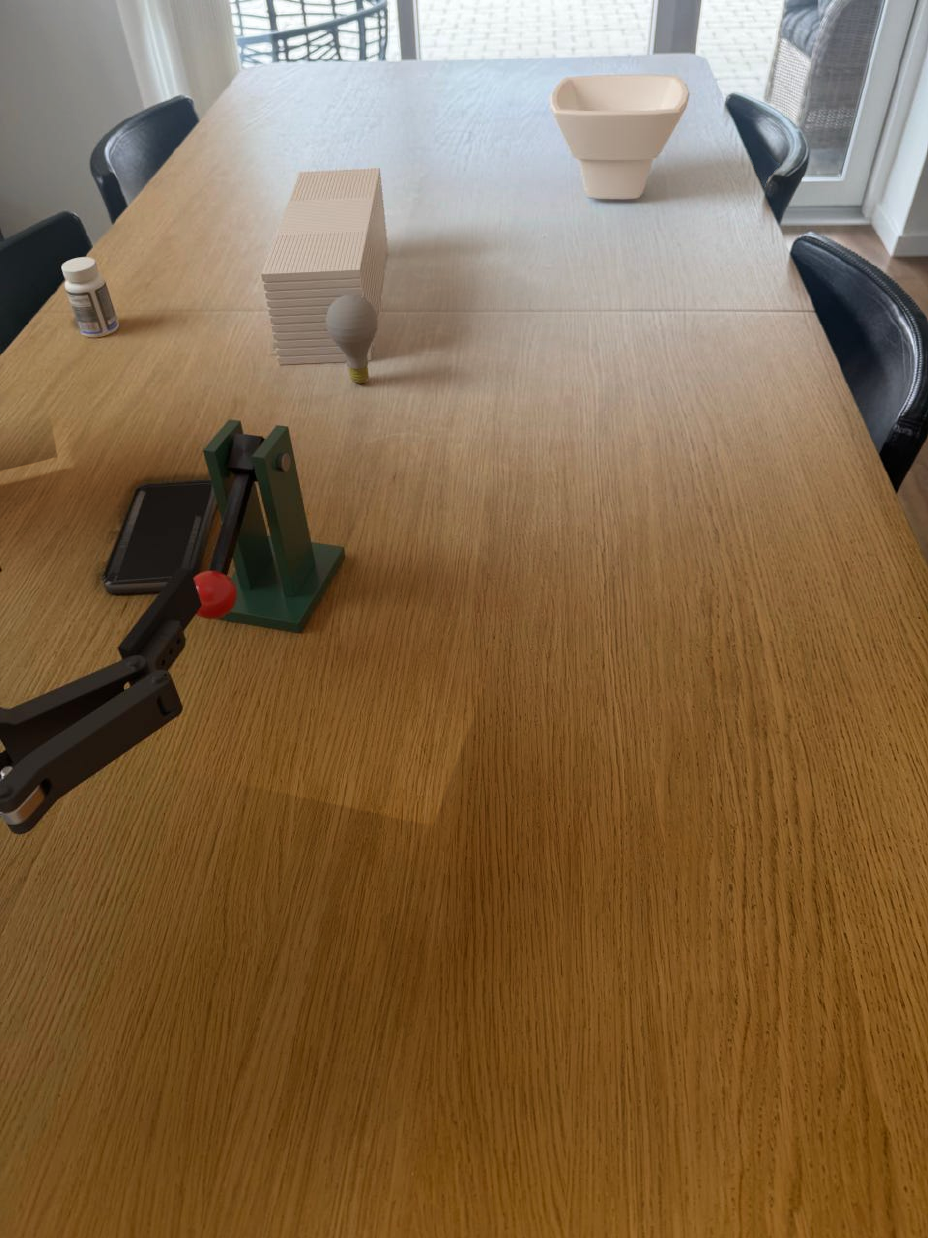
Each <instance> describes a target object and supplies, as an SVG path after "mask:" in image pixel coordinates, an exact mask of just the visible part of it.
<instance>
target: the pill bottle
mask: <svg viewBox="0 0 928 1238" xmlns="http://www.w3.org/2000/svg"><path fill="white" fill-rule="evenodd" d="M61 271H62V275H63V278H64V280H65V282H64V290H65V292H66V296H67V298H68V301H69V304H70V307H71V309H72V312H73V315H74V319H75V321H76V324H77V326H78V330H79V332H80V334H81V335H82V336H84V337H87V338H91V339H92V338H93V339H95V338H102V337H106V336H109V335H111V334H113V333H115V332H116V331H117V330H118V328H119V327H120V323H119V319H118V316H117V314H116V310H115V307H114V304H113V301H112V297H111V295H110V292H109V289H108V285H107V281H106V279H105V277H104V276H103V275H102V274H101V273H100V271H99V267H98V265H97V262H96V259H94V258H93V257H88V256H81V257H75V258H72V259H69V260H66V261H65V262H63V263H62V264H61Z"/></svg>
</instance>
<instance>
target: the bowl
mask: <svg viewBox="0 0 928 1238" xmlns="http://www.w3.org/2000/svg"><path fill="white" fill-rule="evenodd" d="M690 95H691V93H690V91H689V88H688V85H687V83H686V82H685V81H684V80H683V79H682V78H681V77H680V76H679V75H672V74H670V75H669V74H656V73H655V74H653V73H652V74H592V75H591V74H589V75H578V76H576V75H575V76H566V77H565V78H563V79H562V80H561V81H559V82H558V83H557V84H556V85H555V87H554V88H553V90H552V92H551V93H550V96H549V97H550V98H549V99H550V100H549V107H550V111H551V114H552V115H553V117H554V120H555V122H556V124H557V126H558V128H559V131H560V133H561V135H562V137H563V139H564V142H565V143H566V145H567V148H568V149H569V153H570V154H571V156H572V158H573V159H577V161H578V165H579V171H580V174H581V179H582V185H583V189H584V193H585V195H586V197H587V198H588V199H595V200H633V199H635V200H636V199H639V198H640V197H641V196H642V194H643V192H644V189H645V186H646V184H647V180H648V177H649V174H650V170H651V168H652V164H653V162H654V159H657V158H658V157H659V156H660V154H661V153H662V152H663V150H664V148H665V146H666V144H667V143H668V141H669V140H670V137H671V136H672V134H673V132H674V130H675V129H676V127H677V125H678V123H679V121H680V119H681V118H682V116H683V114H684V113H685V111H686V109H687V107H688V103H689V100H690Z"/></svg>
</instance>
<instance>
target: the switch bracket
mask: <svg viewBox="0 0 928 1238" xmlns="http://www.w3.org/2000/svg"><path fill="white" fill-rule="evenodd" d="M243 429H244V428H243V425H242V422H241V420H239V419H230V418H229V419H228V420H227V421H226V422H225V423H224V425H223V426H222V427H221V428H220V429H219V431H218V432H216V434H215V435H214V436H213V437H212V439H210V441H209V442H208V443H207V444H206V446H205V447H204V448H203V449H202V453H203V457H204V460H205V464H206V468H207V471H208V475H209V480H211V482H212V486H213V490H214V493H215V497H216V501H217V508H218V511H219V515H220V518H221V523H222V522H223V518H224V515H225V511H226V508H227V504H228V501H229V497H230V494H231V491H232V487H233V484H234V480H235V477H236V476H235V475H234V474H233V473H232V472H231V471H230V470H229V469H228V468H227V463H228V460H229V456H230V453H231V449H232V446H233V442H234V439H235V436H236V433H239V434H245V432H244V430H243ZM289 429H290V428H289V426H288V425H279V424H276V425H275V426H274V427H273V428H272V430H271V431H270V432H269V434H268V435H267V436H266V437H265V438H264V439H265V440H264V441H263V443H262V444H261V445H260V447H259V448H258V449H257V450H256V452H255V453H254V454H253V455H252V460H253V464H254V468H255V473H256V477H257V481H258V482H257V484H256V482H255V481H254V483H253V486H252V490H251V493H250V497H249V500H248V504H247V508H246V511H245V515H244V518H243V522H242V525H241V529H240V532H239V536H238V539H237V543H236V546H235V550H234V553H233V557H232V562H233V566H234V569H235V570H234V571H233V573H232V575H231V576H230V577H229V578H230V579H231V580H232V581H233V583H234V585H235V587H236V591H237V598H236V603H235V605H234V607H233V609H232V610H231V611H230V612H229V613H228V614H227V615H225V616H223V617H221V618H218V619H217V620H221V621H228V622H232V623H233V622H234V623H238V624H245V625H250V626H255V627H262V628H268V629H273V630H279V631H284V632H289V633H296V634H302V633H303V630H304V629H305V627H306V625H307V623H308V622H309V620H310V618H311V617H312V615H313V613H314V612H315V610H316V608H317V607H318V606H319V604H320V601H321V600H322V598H323V596H324V595H325V593H326V591H327V590H328V588H329V586H330V585H331V583H332V581H333V579H334V578H335V576H336V575H337V573H338V571H339V569H340V568H341V566H342V564H343V562H344V561H345V559H346V556H347V555H346V551H345V546H341V545H334V544H328V543H322V542H321V543H320V542H314V541H312V540H311V539H312V538H311V533H310V529H309V523H308V518H307V514H306V509H305V503H304V500H303V494H302V488H301V483H300V479H299V474H298V469H297V464H296V458H295V454H294V449H293V444H292V439H291V434H290V430H289ZM256 485H258V489H259V492H258V489H257V486H256ZM259 494H260V496H259ZM259 497H260V498H261V502H260V498H259ZM261 503H262V506H261ZM262 507H263V509H262ZM263 510H264V514H263ZM264 515H265V518H264ZM265 519H266V522H265ZM266 524H267V526H266ZM266 527H268V530H267V528H266ZM268 531H269V535H268Z"/></svg>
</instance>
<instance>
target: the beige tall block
mask: <svg viewBox="0 0 928 1238" xmlns="http://www.w3.org/2000/svg"><path fill="white" fill-rule="evenodd" d="M293 185H294V186H293V188H292V190H291V194H290V196H289V199H288V201H287V204H286V207H285V210H284V212H283V216H282V218H281V220H280V223H279V225H278V229H277V231H276V234H275V236H274V239H273V243H272V245H271V248H270V250H269V252H268V256H267V257H266V261H265V263H264V265H263V268H262V271H261V281H262V283H263V290H264V291H265V292H264V295H265V299H266V305H267V308H268V314H269V315H268V316H270V317H269V320H270V324H271V330H272V333H273V334H272V335H273V340H274V346H275V348H276V349H275V350H276V351H275V352H276V355H277V361H278V365H298V364H299V365H300V364H301V365H302V364H321V363H322V364H324V363H344V362H345V363H347V358H346V356H345V354H344V353H343V351H342V350H341V349H340V348H339V346H338V345H337V344H336V343H335V342H334V341H333V339H332V338H331V336H330V335H329V332H328V330H327V325H326V316H327V312H328V309H329V307H330V305H331V304H332V303H333V302H334V301H335V300H336V299H337V298H339V297H341V296H344V295H349V294H354V295H359V296H362V297H364V298H365V299H367V300H368V301H369V302H370V303H371V304H372V306H373V307H374V309H375V311H376V313H377V319H378V318H379V311H380V305H381V300H382V299H381V298H382V293H383V287H384V286H383V285H384V280H385V279H384V278H385V272H386V265H387V260H388V254H389V243H388V236H387V235H388V234H387V224H386V223H387V222H386V215H385V207H384V199H383V198H384V195H383V186H382V176H381V168H380V167H379V168H378V167H376V168H357V169H355V168H354V169H336V170H318V171H317V170H316V171H299V172H298V175H297V177H296V180H295V183H294V184H293ZM375 339H376V336H375V337H374V339H373V341H372V343H371V345H370V348H369V350H368V354H367V358H368V362H369V361H372V359H373V351H374V346H375Z"/></svg>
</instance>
